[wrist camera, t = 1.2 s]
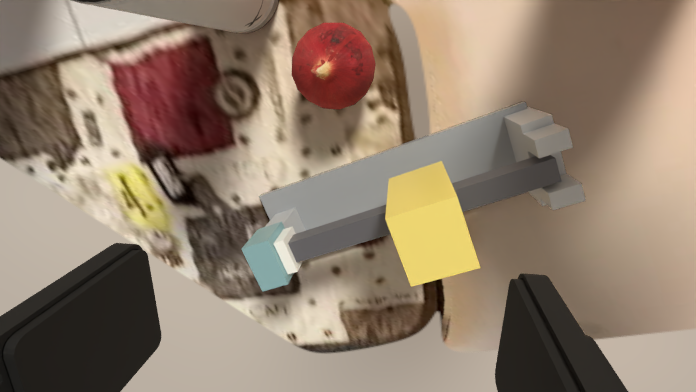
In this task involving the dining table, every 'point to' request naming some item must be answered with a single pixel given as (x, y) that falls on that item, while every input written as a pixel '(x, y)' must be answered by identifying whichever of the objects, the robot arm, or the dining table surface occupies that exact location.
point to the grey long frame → (374, 172)
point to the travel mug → (200, 11)
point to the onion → (333, 65)
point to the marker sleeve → (428, 225)
